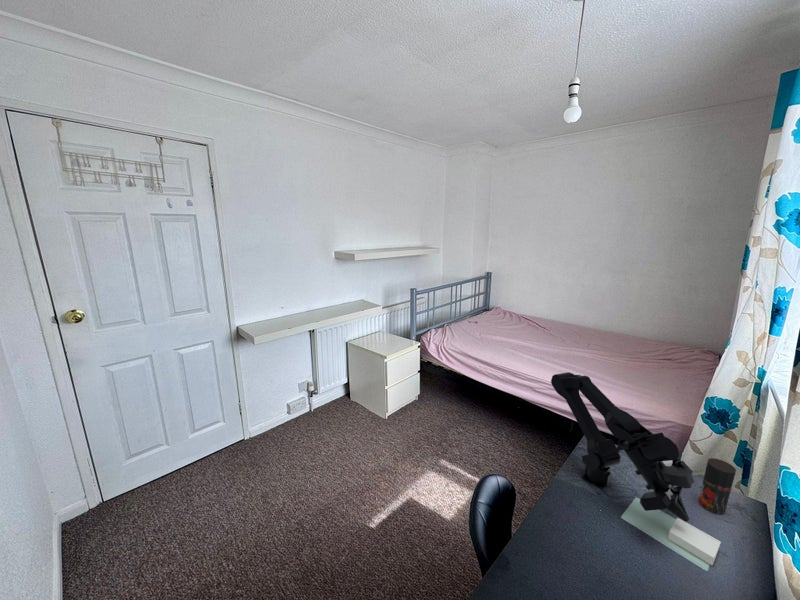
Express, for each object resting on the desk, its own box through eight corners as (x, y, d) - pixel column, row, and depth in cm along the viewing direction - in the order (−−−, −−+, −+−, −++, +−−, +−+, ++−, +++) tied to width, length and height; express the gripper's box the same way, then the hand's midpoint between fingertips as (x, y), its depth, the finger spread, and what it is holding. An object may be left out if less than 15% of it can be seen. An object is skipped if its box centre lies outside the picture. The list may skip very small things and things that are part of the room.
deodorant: (730, 517, 95) (741, 474, 91) (706, 514, 96) (717, 471, 93) (715, 500, 100) (725, 459, 97) (693, 498, 102) (702, 457, 98)
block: (669, 531, 88) (714, 558, 80) (677, 517, 92) (720, 541, 85) (667, 539, 88) (712, 566, 81) (675, 525, 92) (718, 549, 85)
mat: (620, 518, 95) (620, 517, 95) (635, 498, 102) (636, 496, 102) (706, 573, 80) (707, 571, 80) (718, 544, 87) (718, 543, 87)
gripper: (661, 472, 82) (711, 540, 76) (683, 442, 93) (728, 499, 86) (622, 479, 90) (664, 541, 84) (646, 451, 101) (685, 504, 94)
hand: (687, 520), depth 87 cm, fingers closed
